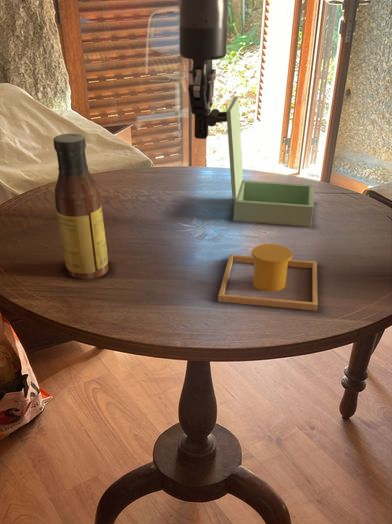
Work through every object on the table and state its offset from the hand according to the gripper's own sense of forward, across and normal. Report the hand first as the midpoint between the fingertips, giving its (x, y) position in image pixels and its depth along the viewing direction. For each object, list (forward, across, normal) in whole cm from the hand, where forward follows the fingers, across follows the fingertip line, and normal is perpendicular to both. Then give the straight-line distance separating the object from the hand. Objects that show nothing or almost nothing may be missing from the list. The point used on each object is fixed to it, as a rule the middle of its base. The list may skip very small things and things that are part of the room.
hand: (201, 137), depth 99 cm
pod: (+13, -28, -15) cm, 34 cm away
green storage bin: (+13, 0, -14) cm, 19 cm away
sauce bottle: (+13, -29, +12) cm, 34 cm away
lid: (+1, 0, -6) cm, 6 cm away
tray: (+13, -28, -15) cm, 34 cm away
